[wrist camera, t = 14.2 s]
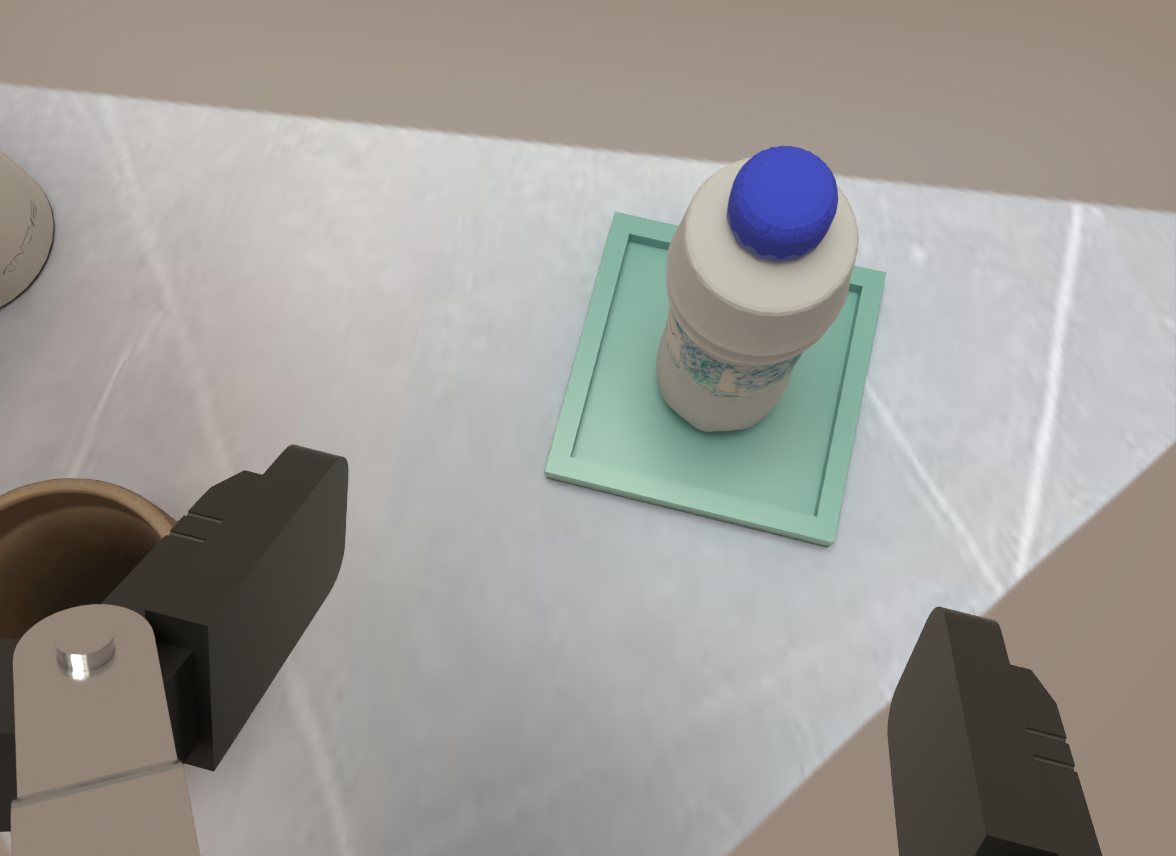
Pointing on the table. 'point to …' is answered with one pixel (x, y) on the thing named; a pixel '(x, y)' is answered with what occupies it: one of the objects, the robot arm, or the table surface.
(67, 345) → the table surface
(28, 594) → the flower pot
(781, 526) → the tray
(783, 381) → the bottle
